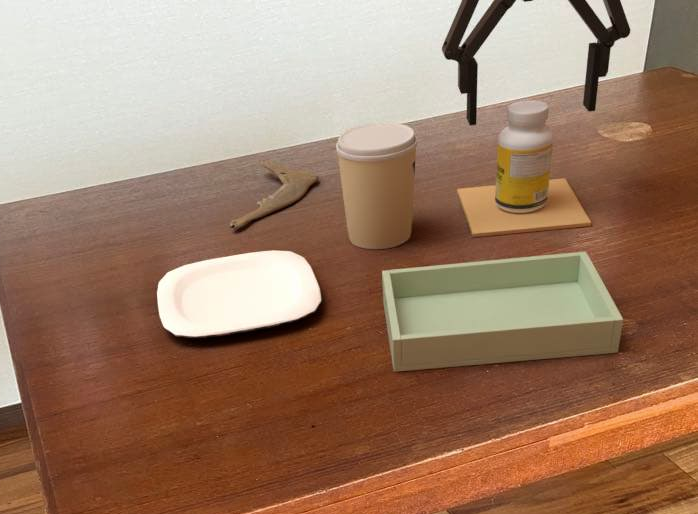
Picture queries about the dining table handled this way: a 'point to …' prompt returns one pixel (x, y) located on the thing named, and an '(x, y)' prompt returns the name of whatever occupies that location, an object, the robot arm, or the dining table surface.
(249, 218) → the jawbone
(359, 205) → the coffee cup
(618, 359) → the dining table surface
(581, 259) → the tray
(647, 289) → the dining table surface
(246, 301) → the plate
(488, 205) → the cork mat
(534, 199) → the pill bottle
